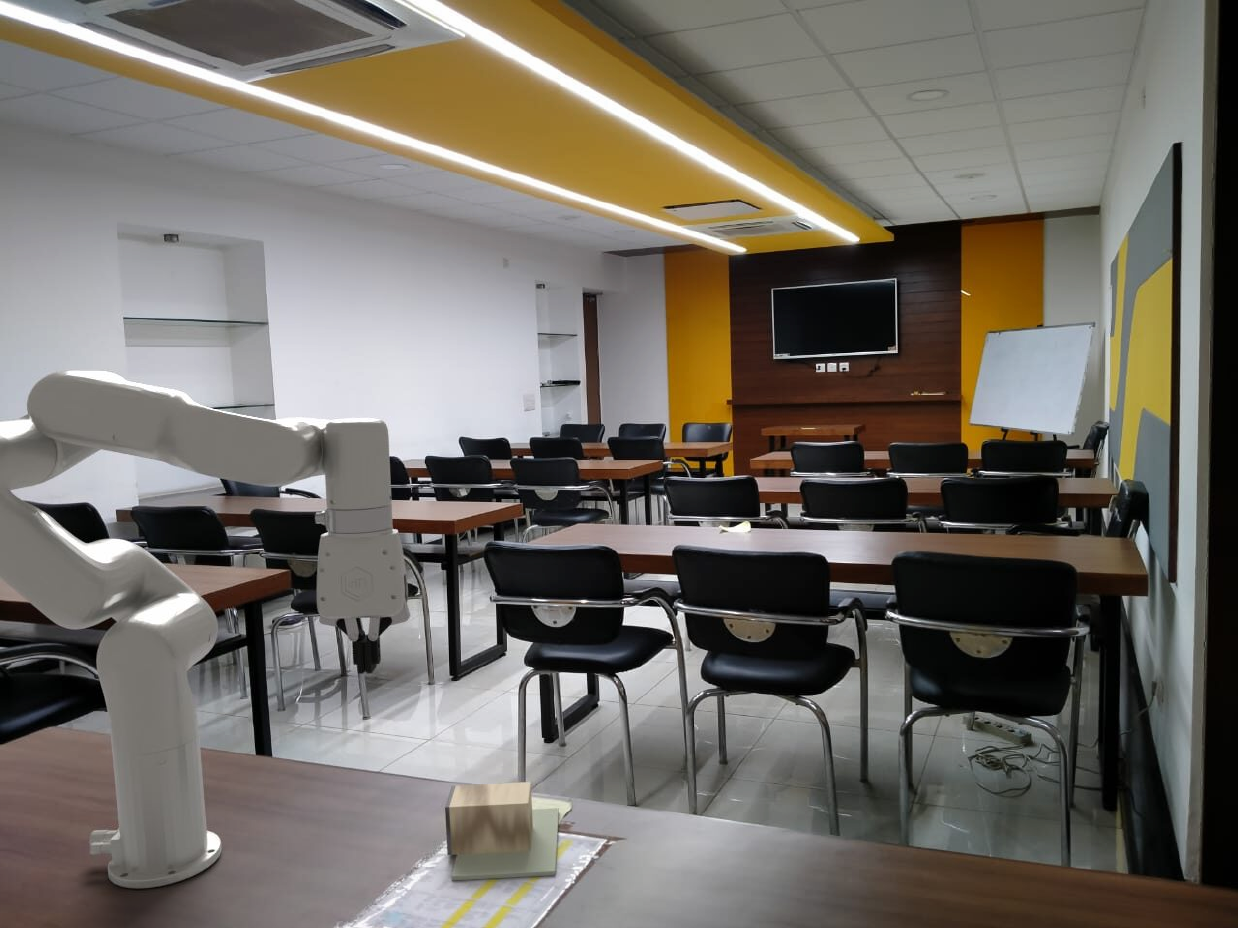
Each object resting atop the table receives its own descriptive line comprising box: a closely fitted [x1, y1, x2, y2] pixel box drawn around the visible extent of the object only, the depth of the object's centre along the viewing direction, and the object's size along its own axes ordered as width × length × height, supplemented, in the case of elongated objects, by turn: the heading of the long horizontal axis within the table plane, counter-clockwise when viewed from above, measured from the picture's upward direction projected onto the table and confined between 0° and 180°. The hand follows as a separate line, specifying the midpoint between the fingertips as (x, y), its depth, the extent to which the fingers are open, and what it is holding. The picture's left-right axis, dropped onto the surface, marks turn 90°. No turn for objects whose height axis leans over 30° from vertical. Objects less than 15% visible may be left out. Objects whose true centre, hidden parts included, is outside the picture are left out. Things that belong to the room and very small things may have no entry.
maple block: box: [444, 781, 533, 856], centre depth 117 cm, size 6×6×10 cm
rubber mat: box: [451, 807, 560, 881], centre depth 118 cm, size 12×16×1 cm
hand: (367, 669), depth 115 cm, fingers closed
